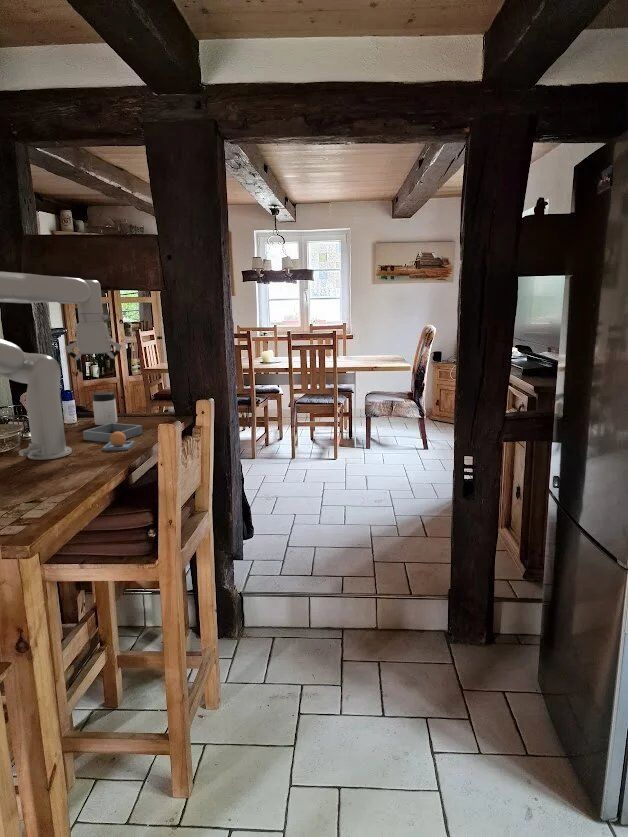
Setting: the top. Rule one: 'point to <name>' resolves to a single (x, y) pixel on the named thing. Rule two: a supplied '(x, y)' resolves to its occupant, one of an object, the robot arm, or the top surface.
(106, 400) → the jar
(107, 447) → the coaster
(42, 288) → the robot arm
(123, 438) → the ball
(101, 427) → the grey square tray
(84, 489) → the top surface
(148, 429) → the top surface
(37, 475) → the top surface
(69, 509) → the top surface
